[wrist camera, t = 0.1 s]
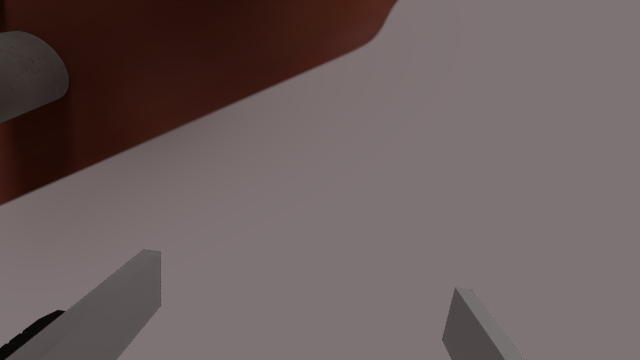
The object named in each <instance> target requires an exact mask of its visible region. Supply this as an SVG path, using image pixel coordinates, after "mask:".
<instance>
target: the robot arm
mask: <svg viewBox="0 0 640 360" xmlns="http://www.w3.org/2000/svg"><path fill="white" fill-rule="evenodd" d="M160 306H161V252H160V251H151V250H142V251H141V252H140V253H139V254H137V255H136V256H135V257H133V258H132V259H131V260H130V261H128V262H127V263H126V264H125V265H123V266H122V267H121V268H120V269H118V270H117V271H116V272H115V273H113V274H112V275H111V276H110V277H108V278H107V279H106V280H105V281H103V282H102V283H101V284H100V285H98V286H97V287H96V288H95V289H93V290H92V291H91V292H89V293H88V294H87V295H86V296H84V297H83V298H82V299H81V300H80V301H78V302H77V303H76V304H75V305H73V306H72V307H71V308H69V309H68V310H67V311H61V310H57V311H55V312H53V313H51V314H49V315H46V316H44V317H42V318H40V319H38V320H37V321H36V322H34V323H33V324H32V325H30V326H29V327H28V328H26V329H25V330H24V331H23V332H22V334H19V335H17V336H16V337H14V338H13V339H12V340H10V341H9V343H8V344H5V345H3V346H2V347H1V348H0V360H117V359H118V357H119V356H120V355H121V354H122V352H123V351H124V350H125V349H126V348H127V346H128V345H129V344H130V343H131V342H132V340H133V339H134V338H135V336H136V335H137V334H138V333H139V332H140V330H141V329H142V328H143V327H144V326H145V324H146V323H147V322H148V321H149V319H150V318H151V317H152V316H153V315H154V314H155V312H156V311H157V310H158V308H159V307H160ZM442 341H443V342H444V345H445V347H446V349H447V351H448V353H449V355H450V357H451V359H452V360H527V359H526V358H525V357H524V356H523V354H522V353H521V352H520V350H519V349H518V348H517V347H516V345H515V344H514V343H513V341H512V340H511V339H510V337H509V336H508V335H507V334H506V332H505V331H504V330H503V328H502V327H501V326H500V325H499V323H498V322H497V321H496V319H495V318H494V317H493V315H492V314H491V313H490V312H489V310H488V309H487V308H486V306H485V305H484V304H483V303H482V301H481V300H480V299H479V297H478V296H477V295H476V293H475V292H474V291H473V290H472V289H465V288H457V287H456V288H455V290H454V294H453V298H452V302H451V306H450V310H449V315H448V318H447V322H446V326H445V330H444V334H443V338H442Z"/></svg>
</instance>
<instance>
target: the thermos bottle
mask: <svg viewBox="0 0 640 360" xmlns="http://www.w3.org/2000/svg"><path fill="white" fill-rule="evenodd" d="M68 86H69V76H68V72H67V69H66V67H65V65H64V63H63V61H62V60H61V58H60V57H59V55H58V54H57V53H56V52H55V51H54V49H53V48H51V47H50V46H49V45H48V44H47V43H46V42H44V41H43V40H41V39H40V38H38V37H36V36H34V35H32V34H29V33H26V32H21V31H11V32H4V33H0V123H2V122H4V121H7V120H9V119H12V118H14V117H17V116H19V115H21V114H24V113H26V112H29V111H31V110H33V109H36V108H38V107H40V106H43V105H45V104H48V103H50V102H52V101H55V100H57V99H59V98H61V97H62V96H64V94H65V93H66V92H67V89H68Z"/></svg>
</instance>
